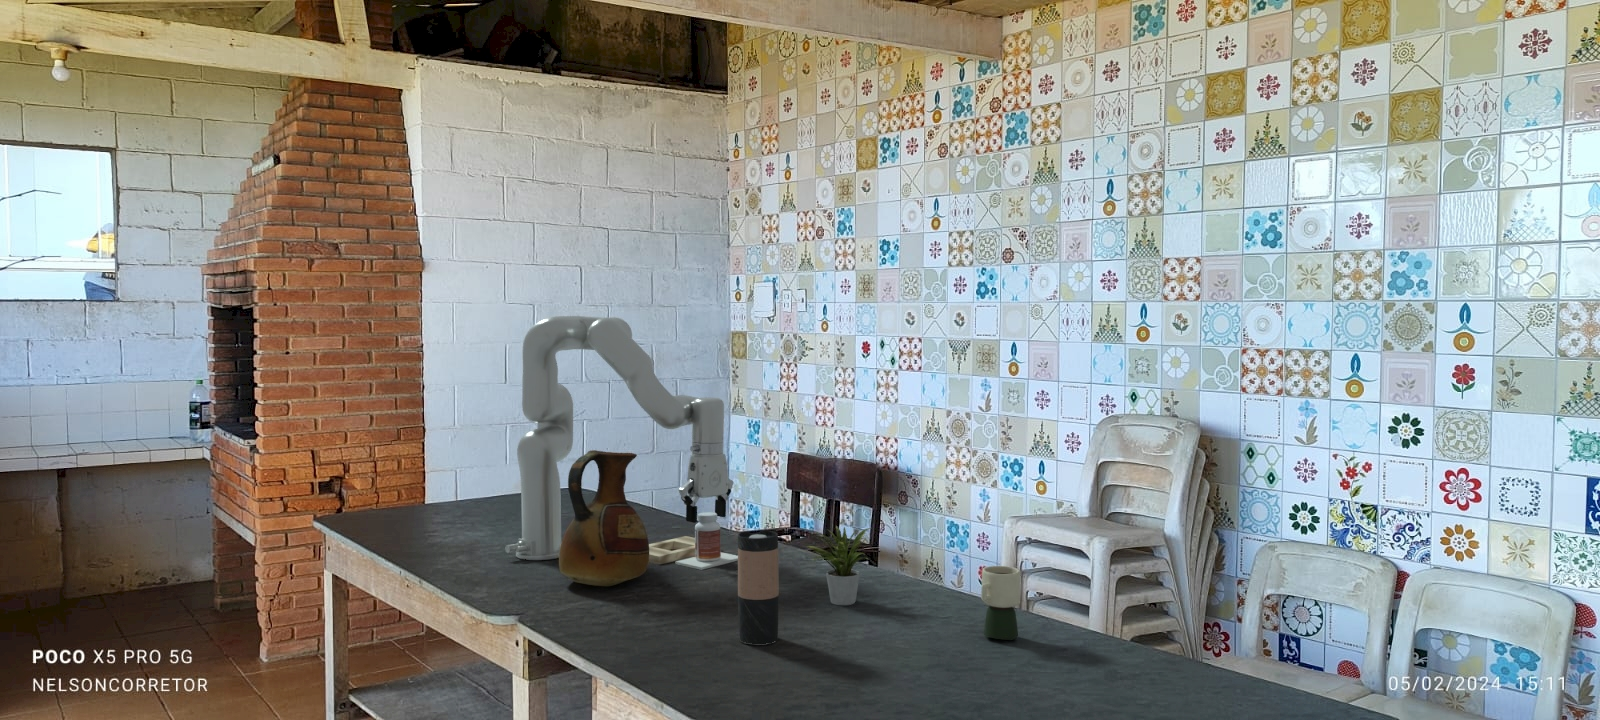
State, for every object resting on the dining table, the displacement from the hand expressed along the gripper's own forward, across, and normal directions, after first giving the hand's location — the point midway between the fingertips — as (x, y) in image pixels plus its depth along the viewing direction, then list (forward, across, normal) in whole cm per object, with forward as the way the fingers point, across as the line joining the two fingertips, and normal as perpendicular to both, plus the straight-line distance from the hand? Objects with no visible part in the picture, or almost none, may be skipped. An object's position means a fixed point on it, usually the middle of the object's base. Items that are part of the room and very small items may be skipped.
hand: (706, 519), depth 274 cm
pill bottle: (+10, 0, -1) cm, 10 cm away
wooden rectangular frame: (+11, 0, +12) cm, 16 cm away
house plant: (+9, -6, -48) cm, 49 cm away
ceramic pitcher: (+11, -28, +3) cm, 31 cm away
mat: (+10, 0, -1) cm, 10 cm away
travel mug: (+10, -38, -53) cm, 66 cm away
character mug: (+8, -8, -87) cm, 88 cm away
